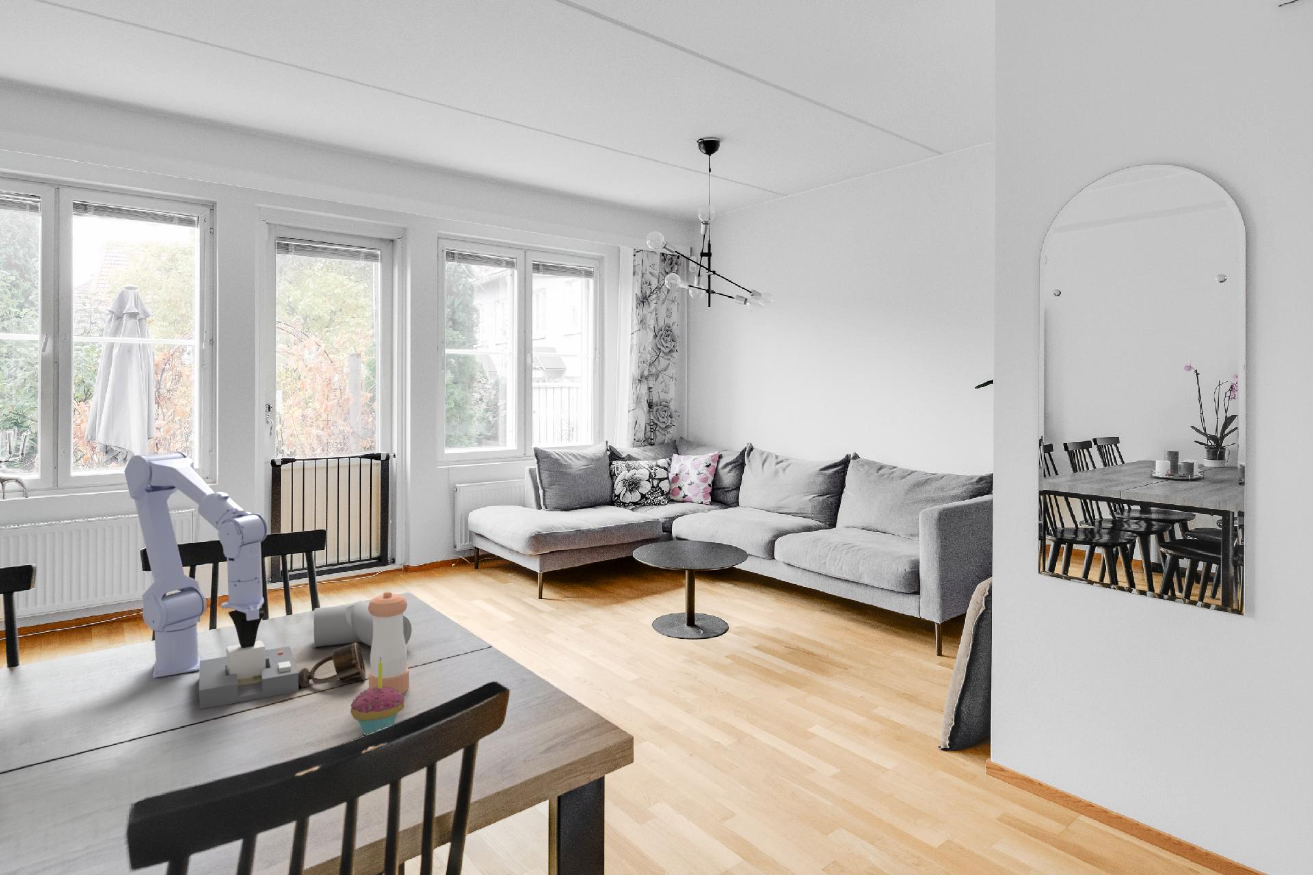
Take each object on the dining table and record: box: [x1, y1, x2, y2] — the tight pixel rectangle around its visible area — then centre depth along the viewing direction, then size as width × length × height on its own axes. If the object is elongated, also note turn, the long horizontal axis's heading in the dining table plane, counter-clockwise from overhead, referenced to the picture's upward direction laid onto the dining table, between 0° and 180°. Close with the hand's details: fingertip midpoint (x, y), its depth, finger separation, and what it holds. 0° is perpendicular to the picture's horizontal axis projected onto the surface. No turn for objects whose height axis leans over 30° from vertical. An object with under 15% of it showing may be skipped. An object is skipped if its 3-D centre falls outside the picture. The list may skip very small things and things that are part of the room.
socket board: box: [198, 645, 299, 710], centre depth 143 cm, size 16×16×4 cm
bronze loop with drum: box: [298, 642, 366, 688], centre depth 145 cm, size 7×13×10 cm
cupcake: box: [350, 657, 405, 736], centre depth 125 cm, size 9×8×12 cm
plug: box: [225, 640, 266, 684], centre depth 142 cm, size 4×6×6 cm, turn 129°
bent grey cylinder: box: [313, 600, 413, 648], centre depth 164 cm, size 18×10×20 cm
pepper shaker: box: [368, 590, 410, 694], centre depth 140 cm, size 7×7×19 cm
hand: (247, 646), depth 142 cm, fingers closed, pressing on plug
